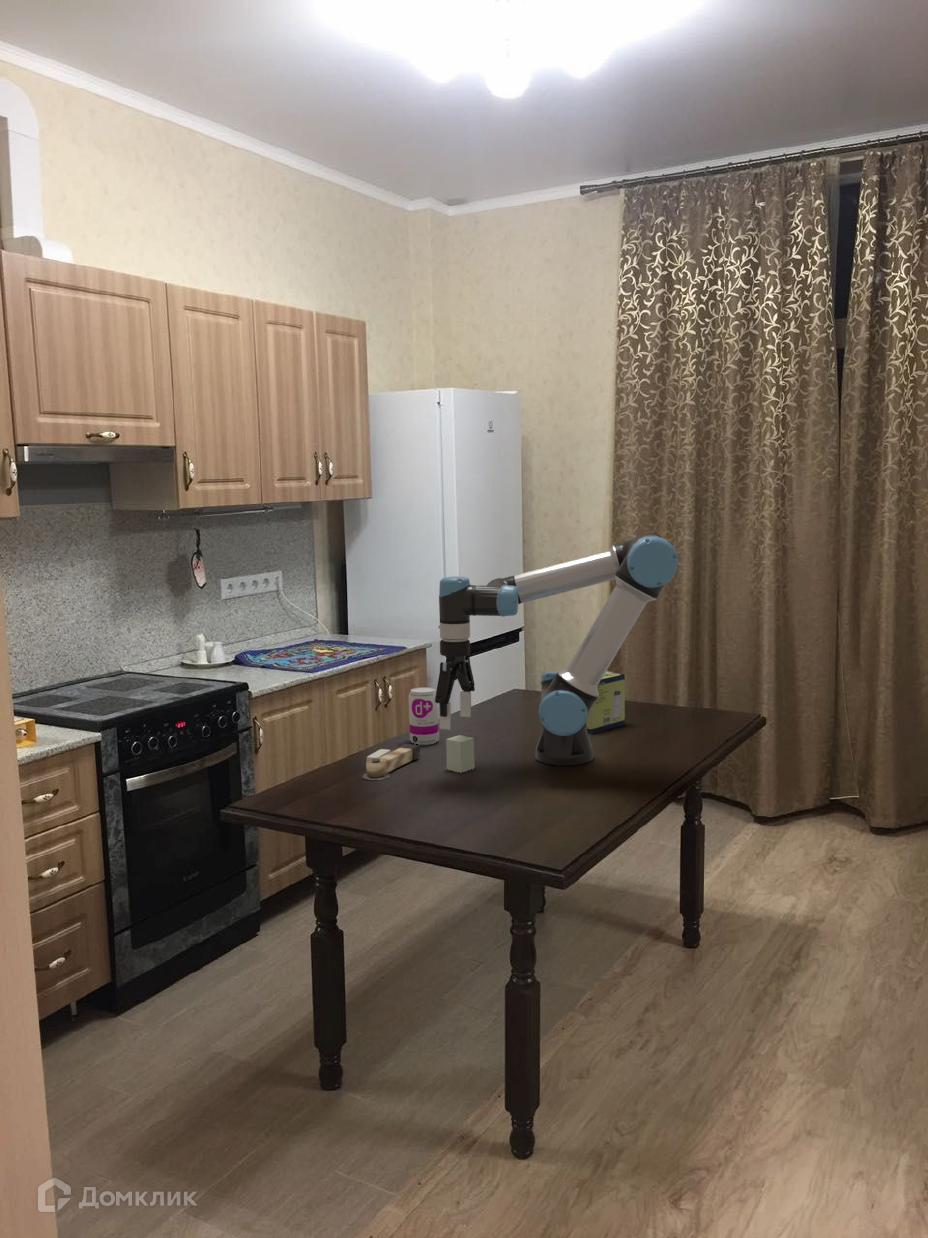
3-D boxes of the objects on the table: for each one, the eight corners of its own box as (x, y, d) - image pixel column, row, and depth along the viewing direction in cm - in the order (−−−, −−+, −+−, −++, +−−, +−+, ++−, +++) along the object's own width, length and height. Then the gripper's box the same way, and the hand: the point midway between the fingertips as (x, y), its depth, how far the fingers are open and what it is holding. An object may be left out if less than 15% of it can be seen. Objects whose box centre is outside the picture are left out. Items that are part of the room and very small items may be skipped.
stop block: (391, 761, 274) (390, 750, 274) (377, 770, 267) (377, 758, 266) (380, 760, 275) (380, 749, 275) (367, 769, 268) (366, 757, 268)
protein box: (563, 728, 305) (563, 676, 303) (598, 719, 316) (598, 668, 313) (591, 734, 298) (590, 681, 295) (625, 724, 308) (625, 673, 306)
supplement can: (435, 746, 289) (434, 693, 286) (406, 745, 290) (405, 692, 288) (442, 738, 296) (440, 687, 294) (413, 738, 298) (412, 686, 296)
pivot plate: (395, 773, 263) (395, 772, 263) (383, 781, 257) (383, 780, 257) (370, 771, 266) (370, 770, 266) (357, 779, 260) (357, 778, 260)
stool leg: (379, 778, 258) (379, 763, 258) (362, 776, 260) (362, 761, 260) (420, 757, 276) (420, 743, 275) (404, 755, 278) (404, 741, 278)
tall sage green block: (474, 768, 266) (473, 738, 265) (461, 773, 263) (460, 742, 262) (460, 765, 270) (459, 735, 269) (446, 769, 266) (446, 739, 265)
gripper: (459, 631, 272) (460, 710, 275) (420, 646, 249) (421, 733, 252) (486, 632, 269) (487, 712, 272) (449, 648, 246) (450, 735, 249)
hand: (455, 722), depth 262 cm, fingers open, 13 cm apart
